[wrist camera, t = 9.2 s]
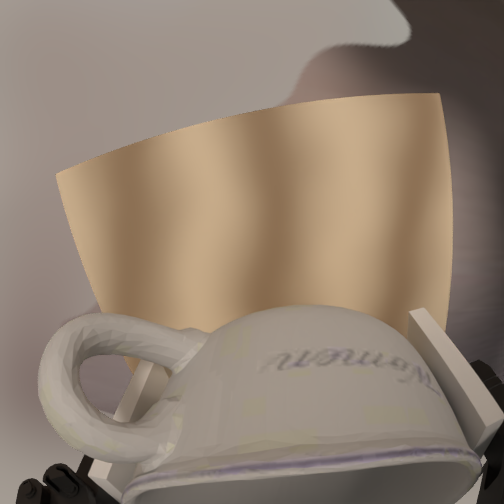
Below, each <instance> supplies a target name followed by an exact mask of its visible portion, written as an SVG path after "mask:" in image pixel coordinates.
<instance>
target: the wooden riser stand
mask: <svg viewBox="0 0 504 504" xmlns="http://www.w3.org/2000/svg"><path fill="white" fill-rule="evenodd" d="M55 175H56V178H57V182H58V187H59V190H60V194H61V198H62V202H63V205H64V209H65V212H66V215H67V219H68V222H69V225H70V228H71V231H72V235H73V238H74V241H75V244H76V246H77V249H78V252H79V255H80V258H81V261H82V263H83V266H84V269H85V271H86V274H87V276H88V279H89V281H90V284H91V287H92V289H93V292H94V294H95V296H96V299H97V301H98V304H99V306H100V308H101V311H102V313H114V314H121V315H127V316H132V317H136V318H140V319H144V320H147V321H150V322H154V323H157V324H161V325H164V326H167V327H170V328H174V329H177V330H182V329H185V328H190V327H191V328H196V329H199V330H201V331H203V332H207V333H212V332H213V331H215V330H216V329H218V328H220V327H221V326H223V325H225V324H227V323H229V322H231V321H233V320H235V319H238V318H241V317H243V316H246V315H248V314H251V313H254V312H258V311H263V310H267V309H271V308H276V307H284V306H291V305H328V306H336V307H343V308H347V309H351V310H355V311H359V312H362V313H365V314H368V315H370V316H372V317H374V318H376V319H378V320H380V321H382V322H384V323H386V324H387V325H389V326H391V327H392V328H394V329H395V330H397V331H398V332H399V333H400V334H401V335H403V336H404V337H405V338H406V339H407V331H408V315H409V311H412V310H416V309H419V308H423V307H424V308H425V309H426V310H427V311H428V313H429V314H430V315H431V316H432V317H433V319H434V320H435V321H436V322H437V324H438V325H439V326H440V327H441V328H442V330H443V331H444V332H445V329H446V321H447V314H448V305H449V296H450V285H451V271H452V251H453V204H452V183H451V170H450V159H449V150H448V141H447V134H446V127H445V121H444V114H443V109H442V103H441V98H440V93H408V94H384V95H369V96H356V97H346V98H336V99H328V100H319V101H312V102H305V103H298V104H292V105H286V106H280V107H274V108H269V109H263V110H258V111H253V112H248V113H243V114H239V115H235V116H230V117H226V118H222V119H217V120H213V121H209V122H205V123H201V124H197V125H193V126H190V127H186V128H182V129H179V130H175V131H172V132H168V133H165V134H162V135H159V136H155V137H152V138H149V139H146V140H143V141H140V142H137V143H134V144H131V145H128V146H125V147H122V148H120V149H117V150H114V151H111V152H108V153H106V154H103V155H100V156H98V157H95V158H93V159H90V160H88V161H85V162H83V163H80V164H78V165H76V166H73V167H71V168H68V169H66V170H64V171H61V172H59V173H57V174H55ZM123 357H124V359H125V361H126V363H127V365H128V366H129V368H130V370H131V372H132V374H133V375H134V372H135V370H136V368H137V366H138V364H139V362H140V360H141V359H139V358H133V357H128V356H123ZM163 367H164V366H163ZM164 369H165V371H166V374H167V376H168V378H169V379H170V377H171V375H172V371H171V370H170V369H169V368H166V367H164Z"/></svg>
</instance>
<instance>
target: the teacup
mask: <svg viewBox="0 0 504 504" xmlns="http://www.w3.org/2000/svg"><path fill="white" fill-rule="evenodd" d="M111 354H114V355H122V356H128V357H133V358H139V359H142V360H146V361H149V362H153V363H155V364H158V365H161V366H164V367H166V368H169V369H170V370H171V371H172V375H171V377H170V379H169V380H168V383H167V385H166V387H165V389H164V391H163V393H162V396H161V398H160V401H159V402H157V403H155V404H154V405H152V407H151V408H150V409H149V410H148V412H147V413H146V414H145V415H144V416H143V417H142V418H141V419H140V420H138V421H136V422H118V421H116V420H113V419H110V418H109V417H107V416H106V415H104V414H103V413H101V412H100V411H99V410H98V409H97V408H96V407H94V406H93V405H92V404H91V403H90V401H89V400H88V399H87V397H86V396H85V394H84V392H83V390H82V387H81V382H80V378H79V369H80V365H81V364H82V362H83V361H84V360H85V359H87V358H89V357H92V356H96V355H111ZM38 393H39V399H40V401H41V404H42V407H43V409H44V412H45V414H46V417H47V419H48V420H49V422H50V423H51V424H52V426H53V427H54V429H55V430H56V432H57V433H58V434H59V436H60V437H61V438H62V439H63V440H64V441H65V442H67V443H68V444H69V445H70V446H71V447H72V448H74V449H76V450H78V451H80V452H82V453H84V454H85V455H87V456H89V457H91V458H94V459H97V460H100V461H104V462H107V463H116V464H133V463H137V465H136V468H135V471H134V475H133V478H132V480H131V481H130V482H129V483H128V484H127V486H126V487H125V489H124V491H123V494H122V497H121V504H455V503H456V502H457V501H458V500H459V499H460V498H462V497H463V496H464V495H465V494H466V493H467V492H468V491H469V490H470V489H471V488H472V487H473V485H474V484H475V483H476V481H477V480H478V478H479V475H480V473H481V468H482V464H481V462H480V458H479V456H478V455H477V454H476V453H475V452H474V451H473V450H472V449H471V448H470V447H469V446H468V444H467V441H466V439H465V437H464V434H463V432H462V430H461V427H460V425H459V423H458V421H457V419H456V416H455V414H454V412H453V410H452V408H451V406H450V404H449V402H448V401H447V399H446V397H445V395H444V393H443V391H442V389H441V388H440V386H439V384H438V382H437V380H436V379H435V377H434V375H433V374H432V372H431V370H430V369H429V367H428V366H427V364H426V363H425V361H424V360H423V359H422V357H421V356H420V354H419V353H418V352H417V350H416V349H415V348H414V347H413V345H412V344H411V343H410V342H409V341H408V340H407V339H406V338H405V337H404V336H403V335H401V334H400V333H399V332H398V331H397V330H395V329H394V328H392V327H391V326H389V325H387V324H386V323H384V322H382V321H380V320H378V319H376V318H374V317H372V316H370V315H368V314H365V313H362V312H359V311H355V310H351V309H347V308H343V307H336V306H328V305H291V306H284V307H276V308H271V309H267V310H263V311H258V312H254V313H251V314H248V315H246V316H243V317H241V318H238V319H235V320H233V321H231V322H229V323H227V324H225V325H223V326H221V327H220V328H218V329H216V330H215V331H213V332H212V333H207V332H203V331H201V330H199V329H196V328H191V327H190V328H185V329H182V330H177V329H174V328H170V327H167V326H164V325H161V324H157V323H154V322H150V321H147V320H144V319H140V318H136V317H132V316H127V315H121V314H114V313H92V314H87V315H83V316H80V317H78V318H76V319H74V320H72V321H69V322H68V323H66V324H65V325H63V326H62V327H61V328H60V329H59V330H58V331H57V332H56V333H55V334H54V335H53V337H52V338H51V340H50V341H49V342H48V344H47V346H46V348H45V351H44V353H43V356H42V359H41V362H40V367H39V372H38Z"/></svg>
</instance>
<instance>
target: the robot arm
mask: <svg viewBox="0 0 504 504" xmlns="http://www.w3.org/2000/svg"><path fill="white" fill-rule="evenodd" d="M407 340H408V341H409V342H410V343H411V344H412V345H413V347H414V348H415V349H416V350H417V352H418V353H419V354H420V356H421V357H422V359H423V360H424V361H425V363H426V364H427V366H428V367H429V369H430V370H431V372H432V374H433V375H434V377H435V379H436V380H437V382H438V384H439V386H440V388H441V389H442V391H443V393H444V395H445V397H446V399H447V401H448V402H449V404H450V406H451V408H452V410H453V412H454V414H455V416H456V419H457V421H458V423H459V425H460V427H461V430H462V432H463V434H464V437H465V439H466V441H467V444H468V446H469V447H470V448H471V449H472V450H473V451H474V452H475V453H476V454H477V455H478V456H479V458H480V459H481V458H482V456H483V455H485V457H486V459H487V461H486V463H485V464H484V466H483V467H482V468H481V473H480V475H479V477H480V476H481V474H482V473H483V476H482V482H481V486H480V491H479V495H478V499H477V503H476V504H504V384H502V382H501V380H500V379H499V378H498V377H496V374H495V373H494V371H493V370H492V369H491V367H490V366H489V365H487V364H485V363H484V362H482V361H480V360H477V361H475V362H472V363H470V364H469V363H468V362H467V361H466V359H465V358H464V357H463V355H462V354H461V353H460V351H459V350H458V349H457V347H456V346H455V345H454V344H453V342H452V341H451V340H450V338H449V337H448V336H447V335H446V333H445V332H444V331H443V330H442V328H441V327H440V326H439V325H438V324H437V322H436V321H435V320H434V319H433V317H432V316H431V315H430V314H429V313H428V311H427V310H426V309H425V308H424V307H423V308H419V309H416V310H412V311H409V315H408V331H407ZM168 380H169V378H168V376H167V374H166V371H165V369H164V367H163V366H161V365H158V364H155V363H153V362H149V361H146V360H142V359H141V360H140V362H139V364H138V366H137V368H136V370H135V372H134V375H133V377H132V379H131V381H130V383H129V385H128V387H127V389H126V391H125V393H124V395H123V397H122V400H121V402H120V404H119V406H118V408H117V410H116V412H115V415H114V417H113V420H116V421H118V422H136V421H138V420H140V419H141V418H142V417H143V416H144V415H145V414H146V413H147V412H148V410H149V409H150V408H151V407H152V405H154V404H155V403H157V402H159V401H160V398H161V396H162V393H163V391H164V389H165V387H166V385H167V383H168ZM136 465H137V463H133V464H116V463H107V462H104V461H100V460H97V459H94V458H91V457H89V456H87V455H84V457H83V459H82V461H81V463H80V466H79V468H78V470H77V472H76V473H75V472H74V471H72V470H71V469H70V468H69V467H68V466H67V465H65V464H62V463H60V464H54V465H53V466H50V467H49V468H48V469H47V470H46V472H45V474H44V476H43V482H44V483H45V484H46V485H47V486H43V485H42V484H41V483H40V482H39V481H38V480H36V479H33V478H31V479H27V480H25V481H23V483H22V484H21V485H20V487H19V490H18V494H17V499H16V504H121V497H122V494H123V491H124V489H125V487H126V486H127V484H128V483H129V482H130V481H131V480H132V478H133V475H134V471H135V468H136Z"/></svg>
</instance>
